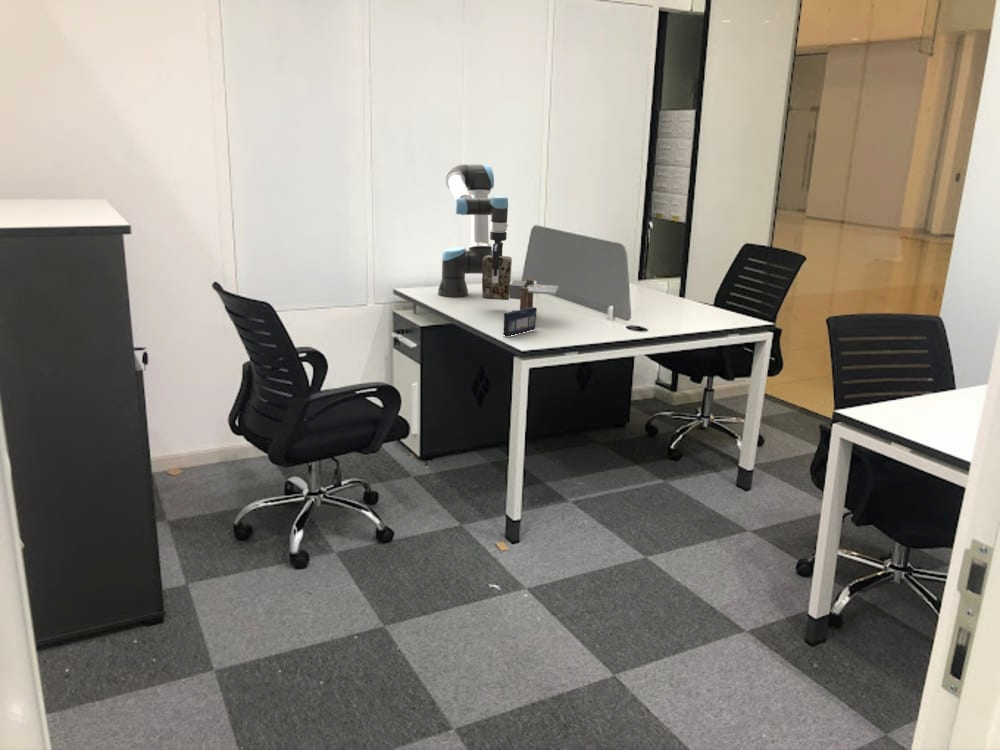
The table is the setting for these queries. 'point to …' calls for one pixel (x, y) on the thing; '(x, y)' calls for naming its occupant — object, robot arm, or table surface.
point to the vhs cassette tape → (519, 321)
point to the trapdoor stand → (526, 296)
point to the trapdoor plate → (530, 289)
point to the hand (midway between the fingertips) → (496, 281)
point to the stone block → (503, 285)
